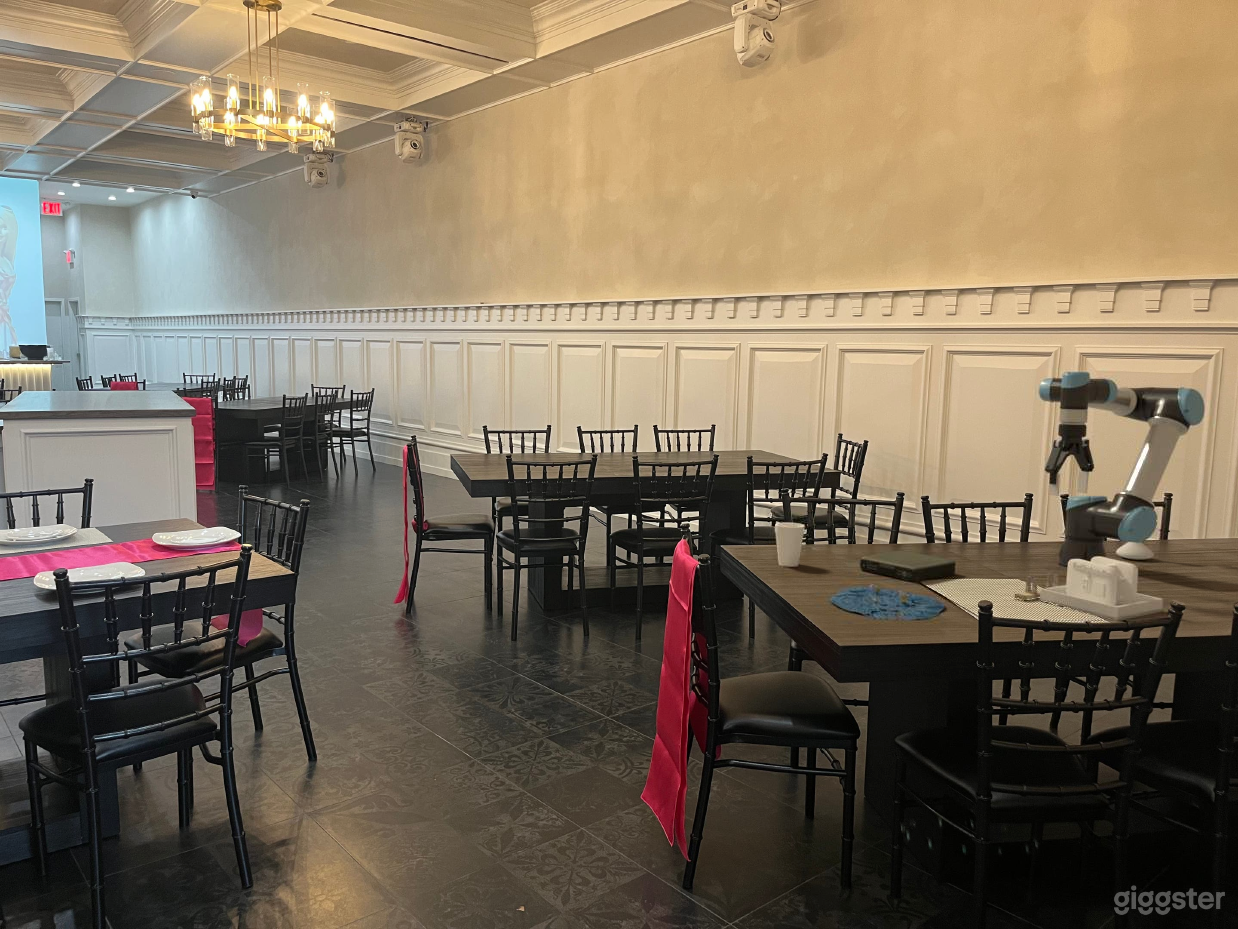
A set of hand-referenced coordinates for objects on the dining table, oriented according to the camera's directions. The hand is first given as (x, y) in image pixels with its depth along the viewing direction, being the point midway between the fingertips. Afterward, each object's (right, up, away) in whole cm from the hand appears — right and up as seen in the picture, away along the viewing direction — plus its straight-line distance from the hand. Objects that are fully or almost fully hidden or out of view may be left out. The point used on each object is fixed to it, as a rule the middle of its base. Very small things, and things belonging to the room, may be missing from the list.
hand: (1068, 494), depth 274 cm
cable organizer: (-5, -29, -27) cm, 40 cm away
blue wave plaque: (-63, -30, -29) cm, 75 cm away
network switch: (-45, -26, +12) cm, 53 cm away
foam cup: (-80, -24, +22) cm, 86 cm away
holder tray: (-5, -30, -27) cm, 41 cm away
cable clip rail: (-12, -28, -15) cm, 34 cm away
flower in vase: (+43, -24, +40) cm, 63 cm away
